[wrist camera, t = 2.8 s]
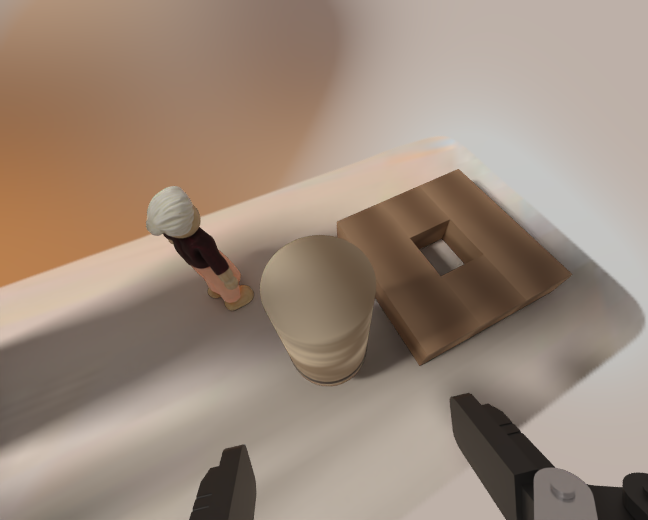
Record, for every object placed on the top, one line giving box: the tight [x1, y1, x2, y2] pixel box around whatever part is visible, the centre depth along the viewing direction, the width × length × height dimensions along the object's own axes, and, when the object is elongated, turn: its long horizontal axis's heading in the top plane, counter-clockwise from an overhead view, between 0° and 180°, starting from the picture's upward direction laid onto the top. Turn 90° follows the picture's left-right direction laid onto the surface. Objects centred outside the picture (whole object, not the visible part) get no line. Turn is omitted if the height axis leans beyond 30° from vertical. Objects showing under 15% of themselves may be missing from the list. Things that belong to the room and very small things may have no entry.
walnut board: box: [337, 169, 573, 366], centre depth 29 cm, size 14×14×3 cm
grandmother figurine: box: [146, 186, 254, 310], centre depth 25 cm, size 8×4×13 cm, turn 63°
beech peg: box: [260, 235, 376, 386], centre depth 21 cm, size 6×6×13 cm
